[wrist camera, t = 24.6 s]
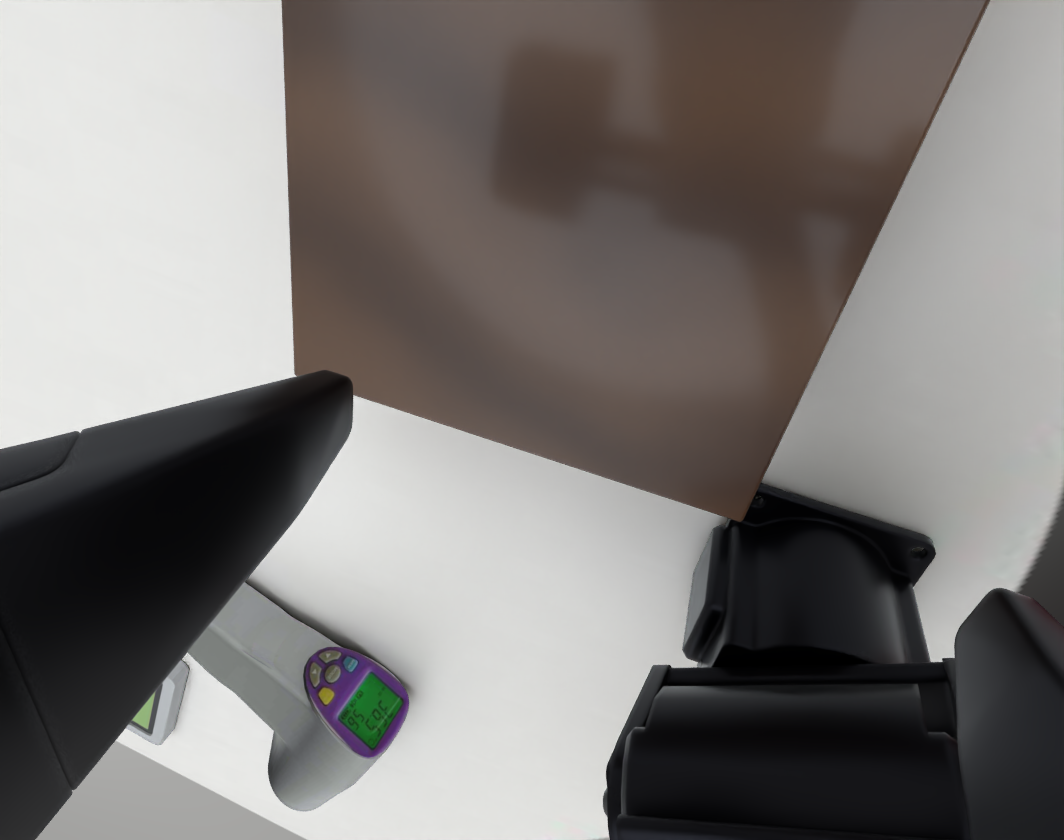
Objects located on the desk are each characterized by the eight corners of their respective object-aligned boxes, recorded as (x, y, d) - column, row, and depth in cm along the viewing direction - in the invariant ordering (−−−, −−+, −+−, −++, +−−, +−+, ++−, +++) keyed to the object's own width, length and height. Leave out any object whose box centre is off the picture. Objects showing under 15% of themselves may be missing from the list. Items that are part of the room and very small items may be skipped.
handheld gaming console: (-41, 561, 41) (172, 685, 41) (-16, 543, 42) (190, 665, 43) (-30, 643, 47) (156, 752, 47) (-8, 626, 48) (173, 732, 48)
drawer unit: (441, -337, 15) (260, -520, 10) (1026, -253, 13) (1194, -424, 8) (400, 293, 24) (293, 376, 19) (749, 397, 22) (741, 524, 17)
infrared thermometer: (200, 522, 36) (427, 689, 36) (164, 631, 43) (353, 770, 43) (129, 579, 32) (381, 765, 32) (102, 687, 39) (309, 840, 39)
